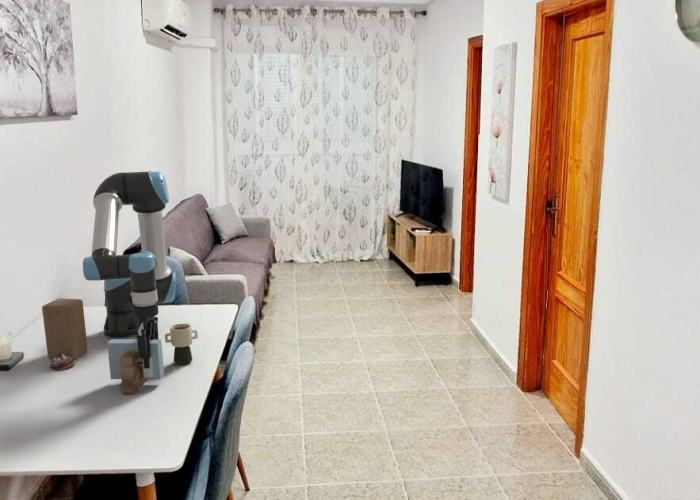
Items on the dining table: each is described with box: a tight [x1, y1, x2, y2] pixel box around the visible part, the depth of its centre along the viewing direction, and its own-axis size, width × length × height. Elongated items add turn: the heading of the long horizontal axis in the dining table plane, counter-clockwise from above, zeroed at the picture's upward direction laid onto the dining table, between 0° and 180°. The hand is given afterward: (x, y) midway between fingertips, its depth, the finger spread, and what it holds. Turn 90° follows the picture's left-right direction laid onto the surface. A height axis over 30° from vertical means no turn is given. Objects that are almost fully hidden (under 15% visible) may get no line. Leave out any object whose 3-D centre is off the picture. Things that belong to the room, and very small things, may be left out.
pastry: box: [49, 353, 76, 372], centre depth 230 cm, size 8×8×5 cm
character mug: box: [164, 323, 199, 365], centre depth 230 cm, size 11×7×13 cm, turn 112°
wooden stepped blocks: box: [120, 351, 148, 396], centre depth 213 cm, size 16×4×12 cm, turn 176°
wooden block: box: [41, 297, 89, 361], centre depth 237 cm, size 10×10×20 cm
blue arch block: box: [106, 338, 165, 381], centre depth 213 cm, size 16×4×12 cm, turn 86°
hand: (151, 374), depth 214 cm, fingers closed on blue arch block, 3 cm apart
